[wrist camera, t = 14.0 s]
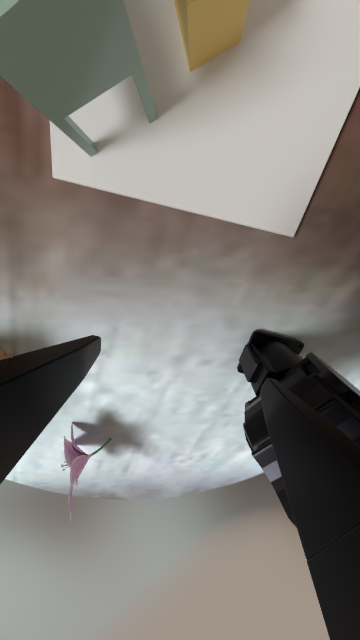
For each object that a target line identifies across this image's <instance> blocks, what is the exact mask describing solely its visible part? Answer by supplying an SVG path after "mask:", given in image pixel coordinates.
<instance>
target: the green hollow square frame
mask: <svg viewBox="0 0 360 640" xmlns="http://www.w3.org/2000/svg"><path fill="white" fill-rule="evenodd" d="M131 75H132V77H133V80H134V83H135V85H136V88H137V91H138V93H139V96H140V99H141V102H142V104H143V107H144V110H145V113H146V115H147V118H148V121H149V123H152V122H154V121H155V120H157V119H158V118H157V114H156V111H155V107H154V104H153V100H152V97H151V94H150V90H149V87H148V83H147V80H146V76H145V73H144V70H143V66H142V63H141V59H140V56H139V52H138V49H137V45H136V42H135V39H134V35H133V32H132V28H131V25H130V21H129V18H128V15H127V11H126V8H125V4H124V1H123V0H0V76H1V77H2V78H3V79H4V80H5V81H6V82H7V83H9V84H10V85H11V86H12V87H13V88H14V89H15V90H16V91H18V92H19V93H20V94H21V95H22V96H23V97H24V98H25V99H27V100H28V101H29V102H30V103H31V104H32V105H33V106H34V107H35V108H37V109H38V110H39V111H40V112H41V113H42V114H43V115H44V116H46V117H47V118H48V119H49V120H50V121H51V122H52V123H53V124H55V125H56V126H57V127H58V128H59V129H60V130H61V131H62V132H64V133H65V134H66V135H67V136H68V137H69V138H70V139H71V140H72V141H74V142H75V143H76V144H77V145H78V146H79V147H80V148H81V149H83V150H84V151H85V152H86V153H87V154H88V155H89V156H90V157H92V156H93V155H95V154H97V153H98V152H97V149H96V147H95V145H94V142H93V141H92V140H91V139H90V138H89V137H88V136H87V135H86V134H85V133H84V132H83V131H82V130H81V129H80V128H79V126H78V125H77V124H76V123H75V122H74V121H73V120H72V119H71V118H70V117H69V115H70V114H72V113H73V112H75V111H76V110H78V109H80V108H81V107H83V106H84V105H86V104H87V103H89V102H90V101H92V100H93V99H95V98H97V97H98V96H100V95H101V94H103V93H104V92H106V91H107V90H109V89H111V88H112V87H114V86H115V85H117V84H118V83H120V82H121V81H123V80H125V79H126V78H128V77H129V76H131Z"/></svg>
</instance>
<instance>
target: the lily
mask: <svg viewBox="0 0 360 640" xmlns="http://www.w3.org/2000/svg"><path fill="white" fill-rule="evenodd" d="M71 440H72V442H70V441H68V440H67V439H66V438H65V436H64V453H65V459H66V462H65V463H67V465H68V467H71V470H70V482H71V487H70V492H69V511H70V518H71V496H72V489H73V485H74V483H75V481H76V483H75V485H76V486H77V485H78V481H77V479H78V477H79V475H80V474H81V472H82V470H83V468H84V466H85V465H86V463H87V461H88V459H89V458H90V457H91V456H92V455H94V454H95V453H97V452H98V451H100V450H101V449H102V448H103V447H104V446H105V445H106V444H107V443H108V442H109V441H111V439H109V440H108V441H107V442H106V443H105V444H104V445H103V446H102V447H101V448H99V449H98V450H97V451H95V452H94V453H92V454H90V455H88V454H86V453H85V452H83V451H82V450H81V449H80V448H79V447H78V446H77V445H76V443H75V441H74V437H73V425H72V426H71ZM67 465H61V467H64V466H67ZM66 468H67V467H66ZM64 470H65V468H64ZM62 471H63V470H62ZM71 519H72V518H71Z"/></svg>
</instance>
